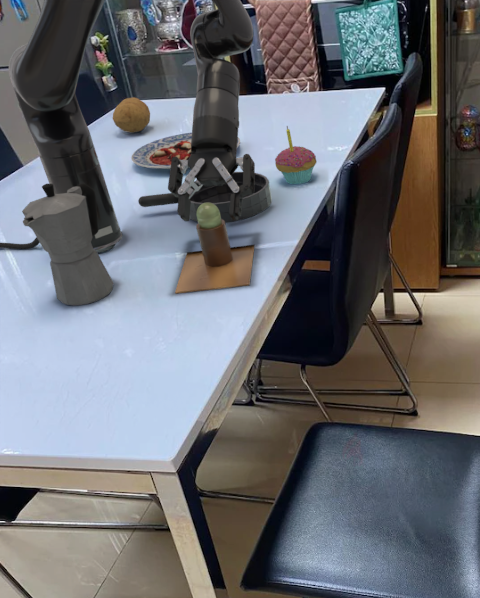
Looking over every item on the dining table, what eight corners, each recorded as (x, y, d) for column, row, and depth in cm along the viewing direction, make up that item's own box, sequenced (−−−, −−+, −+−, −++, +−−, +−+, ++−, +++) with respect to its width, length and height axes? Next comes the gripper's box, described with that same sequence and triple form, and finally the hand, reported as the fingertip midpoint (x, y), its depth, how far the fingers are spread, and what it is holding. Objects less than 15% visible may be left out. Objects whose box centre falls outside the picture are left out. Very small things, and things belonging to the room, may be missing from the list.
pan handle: (139, 209, 138) (136, 199, 136) (141, 205, 139) (138, 195, 138) (184, 203, 137) (182, 193, 136) (186, 200, 139) (183, 190, 138)
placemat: (175, 293, 113) (175, 292, 113) (190, 242, 129) (190, 240, 129) (249, 285, 113) (249, 283, 113) (256, 234, 129) (255, 233, 128)
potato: (154, 121, 197) (147, 90, 192) (153, 135, 187) (144, 103, 182) (119, 126, 197) (111, 96, 192) (116, 141, 186) (106, 108, 181)
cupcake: (313, 190, 144) (305, 128, 136) (273, 191, 145) (263, 130, 138) (322, 175, 150) (315, 115, 142) (284, 176, 152) (275, 117, 144)
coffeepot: (84, 315, 110) (41, 202, 99) (37, 309, 114) (-9, 199, 102) (140, 271, 121) (108, 164, 110) (96, 266, 124) (60, 162, 113)
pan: (181, 231, 133) (175, 208, 130) (192, 198, 146) (187, 177, 144) (270, 221, 133) (266, 198, 130) (273, 189, 146) (270, 167, 143)
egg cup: (199, 265, 120) (185, 208, 114) (213, 253, 123) (200, 197, 117) (224, 267, 118) (211, 209, 112) (237, 255, 122) (225, 198, 115)
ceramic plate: (168, 185, 155) (164, 171, 153) (115, 163, 171) (111, 150, 169) (262, 151, 167) (260, 138, 165) (205, 134, 183) (202, 122, 181)
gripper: (166, 115, 116) (158, 210, 114) (249, 111, 113) (243, 208, 112) (184, 138, 123) (177, 228, 122) (263, 135, 121) (257, 227, 119)
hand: (209, 219), depth 117 cm, fingers open, 8 cm apart
